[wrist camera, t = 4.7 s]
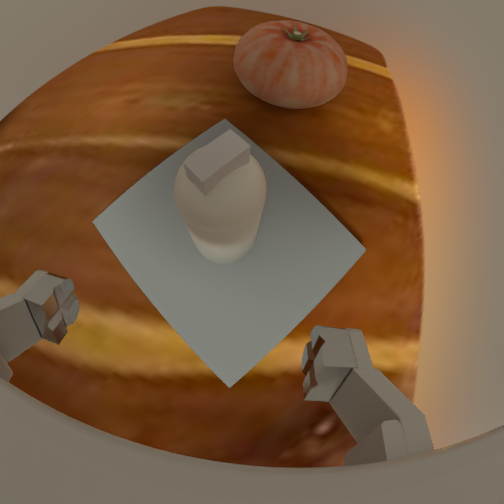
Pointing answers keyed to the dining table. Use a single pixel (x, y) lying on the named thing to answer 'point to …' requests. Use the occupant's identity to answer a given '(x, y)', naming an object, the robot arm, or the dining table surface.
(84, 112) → the dining table surface
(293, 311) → the grey pad
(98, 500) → the robot arm
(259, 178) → the white rounded bottle
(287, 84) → the tomato
